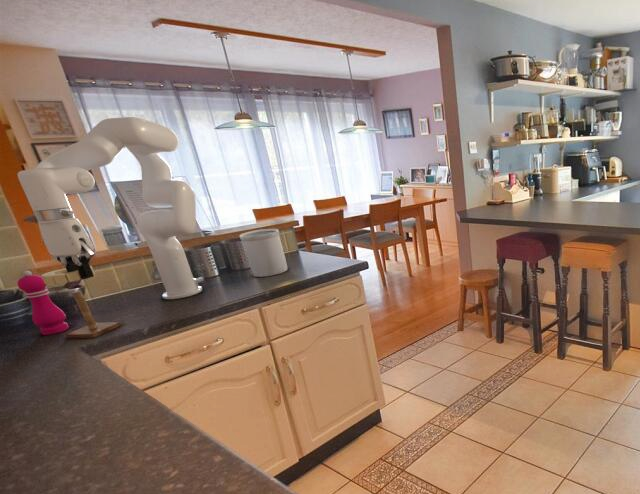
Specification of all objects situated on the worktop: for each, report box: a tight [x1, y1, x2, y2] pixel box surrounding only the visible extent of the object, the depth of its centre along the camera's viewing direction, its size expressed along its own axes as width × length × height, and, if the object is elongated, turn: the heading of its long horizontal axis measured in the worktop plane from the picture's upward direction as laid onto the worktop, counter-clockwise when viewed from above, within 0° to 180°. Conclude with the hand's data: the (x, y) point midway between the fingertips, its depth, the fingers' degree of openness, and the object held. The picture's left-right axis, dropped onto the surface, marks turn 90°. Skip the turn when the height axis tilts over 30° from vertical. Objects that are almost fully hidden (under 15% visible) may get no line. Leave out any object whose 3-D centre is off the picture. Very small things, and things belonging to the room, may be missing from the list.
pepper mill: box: [17, 270, 70, 336], centre depth 134 cm, size 7×7×20 cm
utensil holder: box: [238, 228, 288, 278], centre depth 186 cm, size 15×15×18 cm
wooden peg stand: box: [65, 290, 122, 339], centre depth 133 cm, size 9×9×13 cm
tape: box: [40, 265, 96, 285], centre depth 128 cm, size 11×11×2 cm
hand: (82, 277), depth 128 cm, fingers closed on tape, 2 cm apart
